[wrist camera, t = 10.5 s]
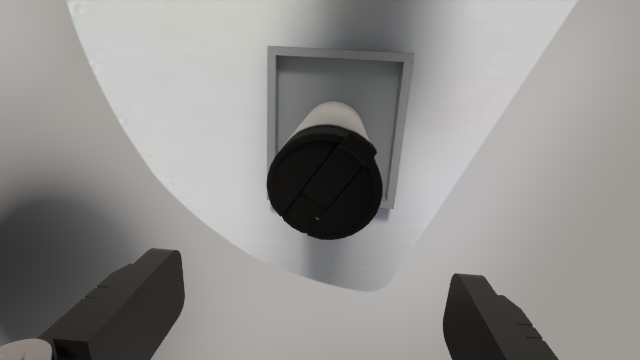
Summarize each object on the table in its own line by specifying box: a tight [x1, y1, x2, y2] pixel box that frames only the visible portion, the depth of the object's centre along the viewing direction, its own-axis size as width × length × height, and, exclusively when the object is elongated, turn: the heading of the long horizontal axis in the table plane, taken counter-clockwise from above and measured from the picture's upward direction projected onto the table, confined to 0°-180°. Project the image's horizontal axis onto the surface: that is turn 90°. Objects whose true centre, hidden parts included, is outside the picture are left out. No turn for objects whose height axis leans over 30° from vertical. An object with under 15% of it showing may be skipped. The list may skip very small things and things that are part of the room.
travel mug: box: [267, 101, 383, 240], centre depth 26 cm, size 6×7×20 cm
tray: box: [267, 46, 414, 209], centre depth 35 cm, size 16×14×2 cm
